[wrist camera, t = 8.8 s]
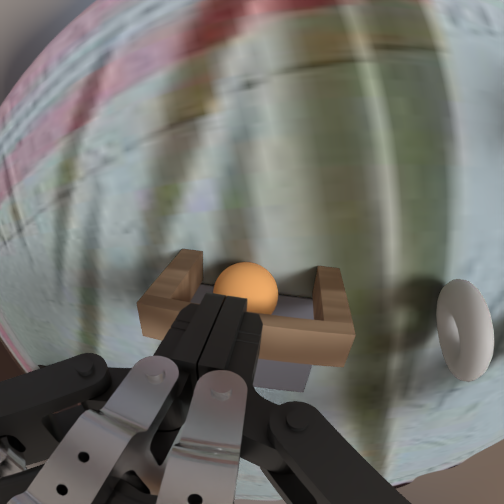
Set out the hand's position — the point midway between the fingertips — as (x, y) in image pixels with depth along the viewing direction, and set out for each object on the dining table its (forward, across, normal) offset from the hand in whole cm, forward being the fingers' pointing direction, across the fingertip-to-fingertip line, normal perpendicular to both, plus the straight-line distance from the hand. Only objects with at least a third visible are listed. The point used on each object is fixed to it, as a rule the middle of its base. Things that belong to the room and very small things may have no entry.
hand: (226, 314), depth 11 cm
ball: (+12, +1, +7) cm, 14 cm away
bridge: (+15, 0, +6) cm, 16 cm away
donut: (+15, -20, +7) cm, 26 cm away
